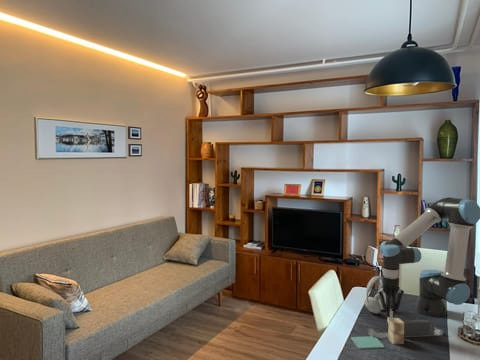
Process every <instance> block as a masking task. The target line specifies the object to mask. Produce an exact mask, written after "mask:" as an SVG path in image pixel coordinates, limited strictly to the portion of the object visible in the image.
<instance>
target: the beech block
mask: <svg viewBox="0 0 480 360" xmlns="http://www.w3.org/2000/svg"><path fill="white" fill-rule="evenodd" d="M403 321H404V320H402V319H401V318H400V317H396V318H389V322H387V323H388V324H387V325H388V326H387V328H388V330H387V333H388V338H387V339H388V341H389V342H390V343H391V344H392V345H403V344H404V343H405V337H404V322H403ZM404 345H405V344H404Z"/></svg>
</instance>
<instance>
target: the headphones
mask: <svg viewBox="0 0 480 360" xmlns="http://www.w3.org/2000/svg"><path fill="white" fill-rule="evenodd" d="M379 280H380V281H381V282H382V283H383V276H379V275H376V276H373V277H371V279H370V280H369V281H368V283H367V285H366V289H365V290H366V298H365V299H364V307H366V309H367V310H368V311H369V312H371V313H372V314H375V315H376V314H377V315H378V314H379V313H380V312H381V311H383V310H384V309H383V308H382V305H381V300H380V296H379V293H378V292H376V294H375V295H374V297H372V296H369V293H370V292H371V290H372V288H373V286H374V285H375V284H376V282H377V281H379ZM383 295H384V299H385V304H386V296H385V292H383ZM390 304H391V300H390ZM384 311H385V310H384Z"/></svg>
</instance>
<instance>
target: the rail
mask: <svg viewBox="0 0 480 360" xmlns="http://www.w3.org/2000/svg"><path fill="white" fill-rule="evenodd" d="M368 335H369V336H372V337H376V338H377V339H388V332H375V330H374V329H373V328H368ZM434 336H437V337H438V336H439V337H441V336H444V329H442V328H441V327H440V326H436V325H435V326H434V330H430V334H427V335H404V338H411V337H413V338H414V337H415V338H416V337H434Z"/></svg>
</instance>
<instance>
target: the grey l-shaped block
mask: <svg viewBox="0 0 480 360" xmlns="http://www.w3.org/2000/svg"><path fill="white" fill-rule="evenodd" d="M393 318H397V317H396V316H394V317H393ZM402 321H403V322H404V335H427V334H430V331H431V322H430V321H429V320H428V319H410V320H409V319H407V320H402Z"/></svg>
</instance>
